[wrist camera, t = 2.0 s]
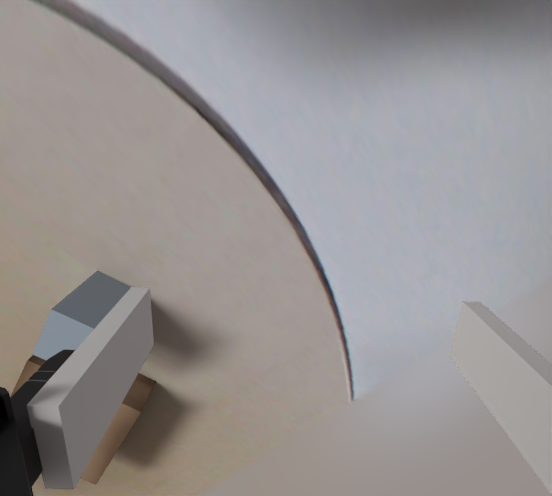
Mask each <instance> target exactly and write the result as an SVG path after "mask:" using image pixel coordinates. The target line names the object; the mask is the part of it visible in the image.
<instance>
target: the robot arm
mask: <svg viewBox="0 0 552 496" xmlns="http://www.w3.org/2000/svg"><path fill="white" fill-rule="evenodd" d="M153 346H154V337H153V324H152V311H151V297H150V288H136V287H131V288H130V289H129V290H128V292H127V293H126V294H125V295H124V296H123V297H122V298H121V299H120V301H119V302H118V303H117V304H116V305H115V306H114V307H113V308H112V310H111V311H110V312H109V313H108V314H107V315H106V316H105V317H104V319H103V320H102V321H101V322H100V323H99V324H98V325H97V326H96V328H95V329H94V330H93V331H92V332H91V333H90V334H89V335H88V337H87V338H86V339H85V340H84V341H83V342H82V343H81V344H80V346H79V347H78V348H77V349H76V350H65V349H64V350H62V351H60V352H59V353H57V354H55V355H54V356H52V357H50V358H49V359H48V360H47V361H46V362H45V363H44V364H43V365H42V366H41V367H40V368H39V369H38V371H37V372H35V373H34V374H33V375H32V376H31V377H30V378H29V380H28V381H26V382H25V383H24V384H23V385H22V386H21V387H20V388H19V389H18V390H17V391H16V392H15V394H14V395H13V396H12V397H11V398H10V396H9V393H8V391H7V390H6V389H5V388H2V387H0V496H33V492H32V486H33V484H34V483H35V481H36V480H37V478H38V477H39V475H40V474H41V472H42V477H43V481H44V486H45V488H53V489H74V488H75V487H76V485H77V483H78V481H79V479H80V477H81V476H82V474H83V472H84V470H85V468H86V467H87V465H88V463H89V461H90V459H91V458H92V456H93V454H94V452H95V450H96V449H97V447H98V445H99V443H100V441H101V440H102V438H103V436H104V434H105V432H106V431H107V429H108V427H109V425H110V423H111V422H112V420H113V418H114V416H115V414H116V413H117V411H118V409H119V407H120V405H121V404H122V402H123V400H124V398H125V396H126V395H127V393H128V391H129V389H130V387H131V386H132V384H133V382H134V380H135V378H136V376H137V375H138V373H139V371H140V369H141V367H142V366H143V364H144V362H145V360H146V358H147V357H148V355H149V353H150V351H151V349H152V348H153ZM449 357H450V358H451V360H452V361H453V362H454V364H455V365H456V366H457V368H458V369H459V370H460V372H461V373H462V375H463V376H464V377H465V379H467V381H468V383H469V384H470V385H471V387H472V388H473V389H474V391H475V392H476V393H477V395H478V396H479V397H480V399H481V400H482V401H483V403H484V404H485V406H486V407H487V408H488V409H489V411H490V412H491V414H492V415H493V416H494V418H495V419H496V420H497V422H498V423H499V424H500V426H501V427H502V429H503V430H504V431H505V432H506V434H507V435H508V437H509V438H510V439H511V441H512V442H513V443H514V445H515V446H516V447H517V449H518V450H519V451H520V453H521V454H522V455H523V457H524V458H525V460H526V461H527V462H528V464H529V465H530V466H531V468H532V469H533V470H534V472H535V473H536V474H537V476H538V477H539V478H540V480H541V481H542V482H543V484H544V485H545V486H546V488H547V489H548V491H549V492H550V493H551V495H552V364H551V363H550V362H548V361H547V360H546V359H545V358H544V357H543V356H542V355H541V354H539V353H538V352H537V351H536V350H535V349H534V348H532V347H531V346H530V345H529V344H528V343H527V342H526V341H525V340H523V339H522V338H521V337H520V336H519V335H517V334H516V333H515V332H514V331H513V330H512V329H510V327H508V326H507V325H506V324H505V323H504V322H503V321H502V320H500V319H499V318H498V317H497V316H496V315H495V314H494V313H492V312H491V311H490V310H489V309H488V308H487V307H486V306H484V305H483V304H482V303H481V302H465V301H463V302H462V306H461V310H460V314H459V318H458V323H457V327H456V331H455V335H454V339H453V343H452V348H451V352H450V356H449Z"/></svg>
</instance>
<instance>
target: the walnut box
mask: <svg viewBox="0 0 552 496" xmlns="http://www.w3.org/2000/svg"><path fill="white" fill-rule="evenodd" d="M45 362H46V360H44V359H42V358H40V357H37V356H35V355H33V356H32V357H30V358H29V359H28V360H27V363H26V365H25V367H24V369H23V371H22V373H21V376H20V378H19V380H18V382H17V384H16V386H15V388H14V391H13V393H12V395H11V397H12V396H13V395H14V394H15V392H16V391H17V390H18V389H19V388H20V387H21V386H22V385H23V384H24V383H25V382H26V381H28V380H29V378H30V377H31V376H32V375H33V374H34V373H35V372H37V371H38V369H39V368H40V367H41V366H42V365H43V364H44V363H45ZM155 382H156V381H154V380H152V379H150V378H148V377H146V376H144V375H141V374H139V373H138V375H137V376H136V378H135V380H134V382H133V384H132V386H131V387H130V389H129V391H128V393H127V395H126V396H125V398H124V400H123V402H122V404H121V405H120V407H119V409H118V411H117V413H116V414H115V416H114V418H113V420H112V422H111V423H110V425H109V427H108V429H107V431H106V432H105V434H104V436H103V438H102V440H101V441H100V443H99V445H98V447H97V449H96V450H95V452H94V454H93V456H92V458H91V459H90V461H89V463H88V465H87V467H86V468H85V470H84V472H83V474H82V476H81V477H80V478H81V479H84V480H86V481H89V482H91V483H94V484H97V482H98V480H99V479H100V477H101V476H102V474H103V472H104V471H105V469H106V468H107V466H108V464H109V463H110V461H111V460H112V458H113V456H114V455H115V453H116V452H117V450H118V448H119V447H120V445H121V444H122V442H123V440H124V439H125V437H126V436H127V434H128V432H129V431H130V429H131V428H132V426H133V424H134V423H135V421H136V420H137V418H138V416H139V415H140V413H141V411H142V409H143V407H144V405H145V403H146V401H147V399H148V396H149V394H150V392H151V390H152V388H153V386H154V384H155ZM11 397H10V398H11Z"/></svg>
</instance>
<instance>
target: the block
mask: <svg viewBox="0 0 552 496" xmlns="http://www.w3.org/2000/svg"><path fill="white" fill-rule="evenodd" d="M130 288H131V287H130V286H128V285H126V284H124V283H122V282H120V281H118V280H115V279H113V278H111V277H109V276H107V275H105V274H103V273H101V272H99V271H96V272H95V273H94V274H93V275H92V276H90V277H89V278H88V279H87V280H86V281H84V282H83V283H82V284H81V285H80V286H79V287H77V288H76V289H75V290H74V291H73V292H71V293H70V294H69V295H68V296H67V297H65V298H64V299H63V300H62V301H61V302H59V303H58V304H57V305H56V306H55V307H53V308H52V309H51V311H50V313H49V316H48V318H47V321H46V323H45V325H44V328H43V330H42V333H41V335H40V337H39V340H38V342H37V345H36V347H35V349H34V352H33V355H35V356H37V357H40V358H42V359H44V360H46V361H47V360H48V359H49V358H50V357H52V356H54V355H55V354H57V353H59V352H60V351H62V350H64V349H65V350H76V349H77V348H78V347H79V346H80V344H81V343H82V342H83V341H84V340H85V339H86V338H87V337H88V335H89V334H90V333H91V332H92V331H93V330H94V329H95V328H96V326H97V325H98V324H99V323H100V322H101V321H102V320H103V319H104V317H105V316H106V315H107V314H108V313H109V312H110V311H111V310H112V308H113V307H114V306H115V305H116V304H117V303H118V302H119V301H120V299H121V298H122V297H123V296H124V295H125V294H126V293H127V292H128V290H129V289H130Z"/></svg>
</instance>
